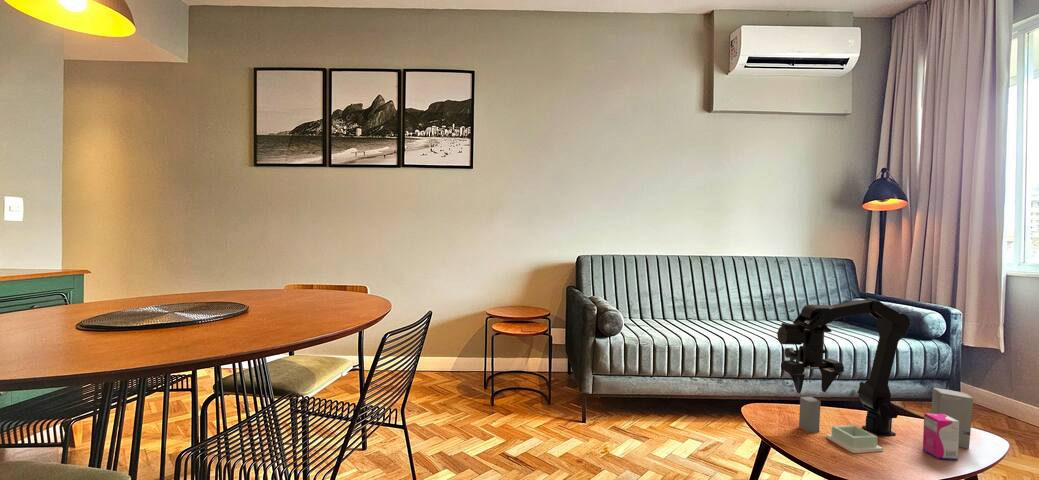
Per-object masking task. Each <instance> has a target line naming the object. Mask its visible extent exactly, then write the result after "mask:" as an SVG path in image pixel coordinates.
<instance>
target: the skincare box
mask: <svg viewBox="0 0 1039 480" xmlns="http://www.w3.org/2000/svg"><path fill="white" fill-rule="evenodd" d="M931 398H932V399H931V411H930V413H932V414H945V415H947V416H949V417H951V418H953V419H955V420H958V421H959V442H958V448H964V449H968V450H969V449H970V441H971V432H972V431H971V430H972V419H973V409H974V398H973V397H972V396H970V395H969V394H967V393H966V392H964V391H963V392H961V391H956V390H951V389H945V388H939V387H932V397H931Z"/></svg>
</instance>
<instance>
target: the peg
mask: <svg viewBox="0 0 1039 480" xmlns="http://www.w3.org/2000/svg"><path fill="white" fill-rule="evenodd" d="M799 398H800V399H799V414H798V415H799V417H798V428H799V429H802V430H803V431H805V432H806V433H818V432H819V433H820V421H821V405H822V404H821V400H818V399H816V398H814V397H813V396H801V397H799Z"/></svg>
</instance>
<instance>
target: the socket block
mask: <svg viewBox="0 0 1039 480" xmlns="http://www.w3.org/2000/svg"><path fill="white" fill-rule="evenodd" d="M878 437H879V436H878V435H876V434H874V433H872V432H870V431H868V430H866V429H864V428H862V427H859V426H858V425H855V424H852V425H835V426H832V427H831V433H829V434H826V435H825V438H826V439H827V440H829V441H831V442H833V443H835V444H837V445H838V446H840V447H842V448H843V449H845V450H847V451H848V452H850V453H853V454H860V453H877V452H883V451H884V448H883V447H882V446H880V445H878Z"/></svg>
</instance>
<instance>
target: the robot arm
mask: <svg viewBox="0 0 1039 480" xmlns="http://www.w3.org/2000/svg"><path fill="white" fill-rule="evenodd" d="M802 307H803V308H802V309H801V312H800V313H799V315H798V316H797V317H796V318H795V319H794V320H793V321H792V323H787V322H781V326H779V328H778V330H777V332H776V334H777V335H776V336H777V340H778V342H779V343H780V344H781V345H799V348H798V349H796V350H794V348H793V347H786V348H785V347H784V356H785V358H789V360H782V361H781V363H780V369H781V370H783V371H784V372H786V373H787V374H789V376H790V377H791V380H792V382H793V385H794V388H795V391H796V393H797V394H801V392H802V389H803V384H804V380H805V377H806V376H805V374H804V372H805V371H806V370H817V369H818V370H819V371H820V374H821V385H820V386H821V391H822V392H823V393H826V392H827V390H828V389H829V388H830V386H831V384H832V383H834V381H835V379H836V378H837V377H838V376H840V375H841V373H844V372H845V366H844V365H843V362H841V361H838V360H835V359H832V358H824V354H827V352H828V350H827V349H825V347H824V344H825V333H832V329H830V328H829V327H828V326H827V324H831V323H832V322H834V321H835V320H838V319H841V318H848V317H854V316H859V315H866V314H869V315H870V316H871V317H873V319H876V329H877V332H878V335H879V338H878V342H877V346H876V351H875V354H874V358H873V361H872V362H873V363H872V367H871V371H870V373H869V378H868V379H867V380H866V381H865V382H863V381H859V387H858V390H857V392H856V394H858V395H857V396H858V397H857V398H858V399H859V400H860V403H862V407H863V409H866V410H867V411H866V416H865V425H862V426H861V429H863V430H865V431H867V432H869V433H871V434H873V435H875V436H877V437H884V436H885V437H886V436H897V435H896V432H894V431H892V427H893V426H892V425H893V423H892V422H893V419H897V418H898V415H900V414H899V413H900V412H899V411H898V410H897V408H895V407H894V405H893V404H892V403H891V400H892V393H891V389H890V387H889V381H890V379H891V378H890V377H891V374H892V373H891V372H892V369H893V367H894V366H893V365H894V362H895V356H896V353H897V348H898V345H899V343H900V340H901V339H903V338H904V337H905V336H907V333H908V332H909V331H908V330H909V329H910V327H911V319H910V318H909V317H908V315H906V314H904V313H902V312H898V311H897V310H895V309H893V308H891V307H889V306H887V305H885V304H884V303H882V301H880V300H878V299H874V298H869V297H866V298H865V299H859V300H855V301H854V300H853V301H849V302H842V303H837V304H832V305H831V304H830V305H825V304H806V305H804V306H802Z"/></svg>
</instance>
